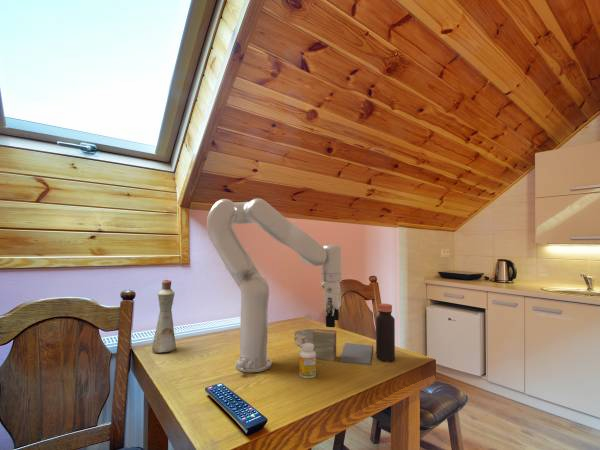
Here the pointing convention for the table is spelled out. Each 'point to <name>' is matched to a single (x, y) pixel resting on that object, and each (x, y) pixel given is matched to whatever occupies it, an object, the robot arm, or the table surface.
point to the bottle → (165, 321)
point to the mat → (356, 354)
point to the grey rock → (304, 336)
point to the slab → (325, 344)
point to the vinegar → (385, 334)
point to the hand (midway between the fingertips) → (332, 323)
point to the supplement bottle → (307, 361)
